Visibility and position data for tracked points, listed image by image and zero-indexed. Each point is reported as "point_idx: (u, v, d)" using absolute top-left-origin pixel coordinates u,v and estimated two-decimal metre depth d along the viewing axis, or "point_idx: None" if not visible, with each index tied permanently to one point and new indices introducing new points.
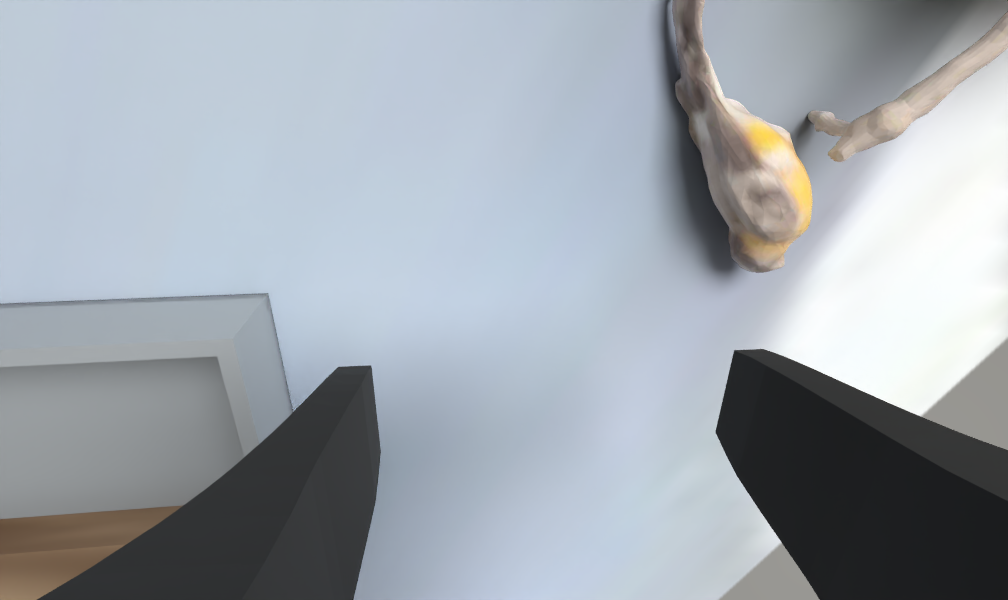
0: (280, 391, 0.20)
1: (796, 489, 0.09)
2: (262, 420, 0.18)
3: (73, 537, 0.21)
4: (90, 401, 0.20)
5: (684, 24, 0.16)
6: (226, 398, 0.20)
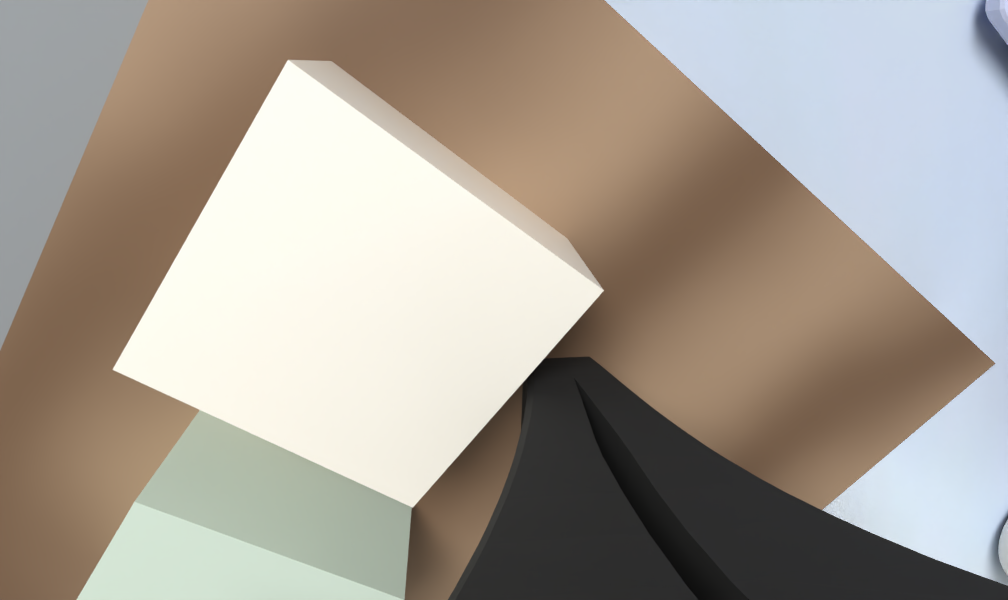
0: None
1: None
2: None
3: None
4: None
5: None
6: None
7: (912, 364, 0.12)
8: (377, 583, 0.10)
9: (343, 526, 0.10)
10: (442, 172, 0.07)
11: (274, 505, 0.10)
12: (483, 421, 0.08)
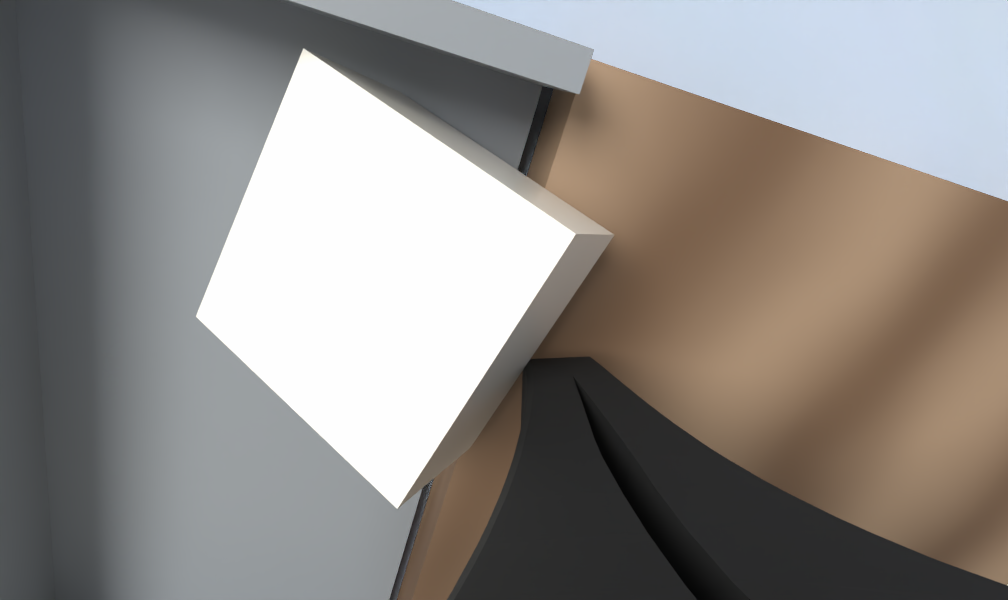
0: None
1: None
2: None
3: None
4: None
5: None
6: (243, 89, 0.10)
7: None
8: None
9: None
10: (409, 120, 0.07)
11: None
12: (465, 407, 0.07)
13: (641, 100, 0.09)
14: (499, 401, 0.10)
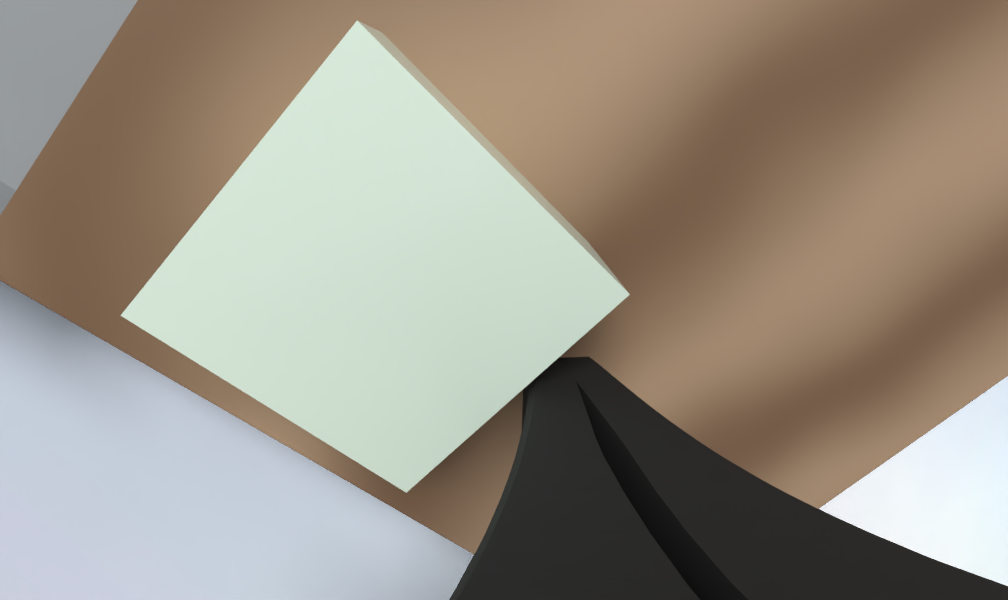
0: None
1: None
2: None
3: None
4: None
5: None
6: None
7: None
8: (600, 266, 0.08)
9: (548, 207, 0.08)
10: None
11: (484, 142, 0.07)
12: None
13: None
14: None
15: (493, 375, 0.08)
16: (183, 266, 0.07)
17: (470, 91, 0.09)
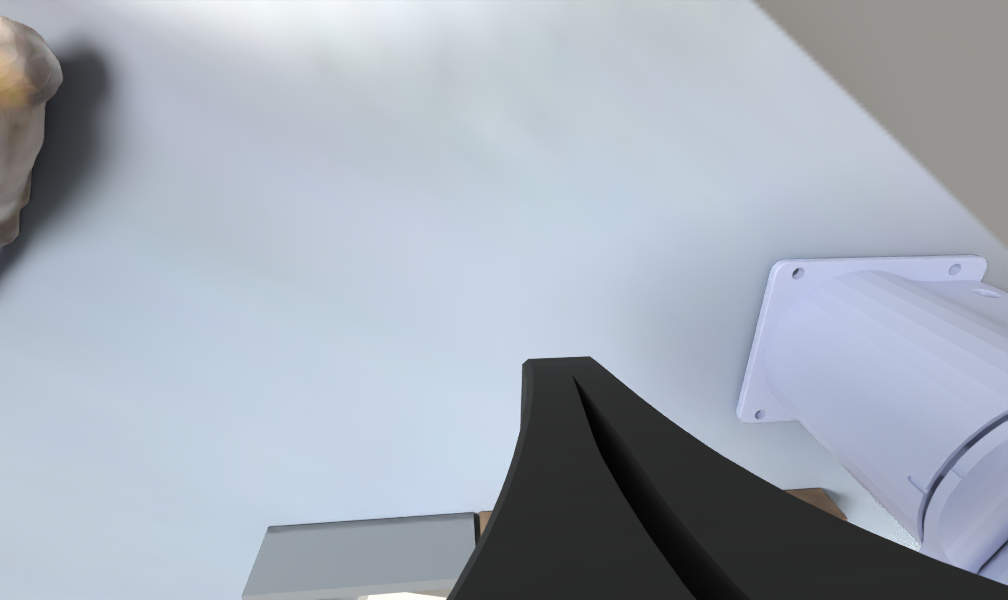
0: (348, 534, 0.24)
1: None
2: (335, 574, 0.22)
3: None
4: None
5: None
6: None
7: None
8: None
9: None
10: (419, 593, 0.23)
11: None
12: None
13: None
14: None
15: None
16: None
17: None
